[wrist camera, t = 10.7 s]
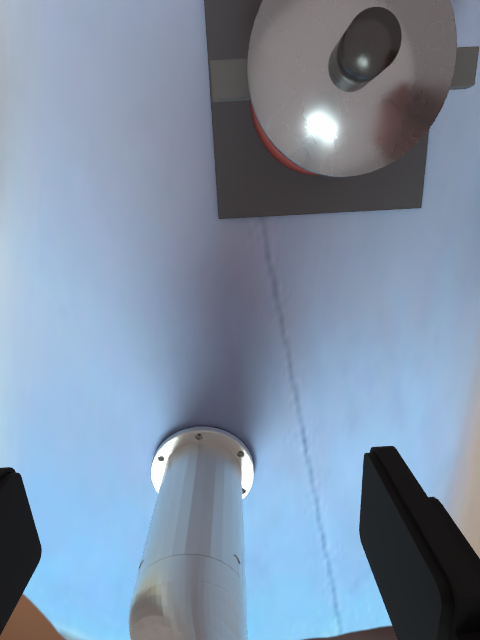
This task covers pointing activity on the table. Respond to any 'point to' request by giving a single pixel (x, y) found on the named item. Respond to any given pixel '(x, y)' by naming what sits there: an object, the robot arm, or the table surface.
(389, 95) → the lid
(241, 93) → the pot
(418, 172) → the plate
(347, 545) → the table surface
